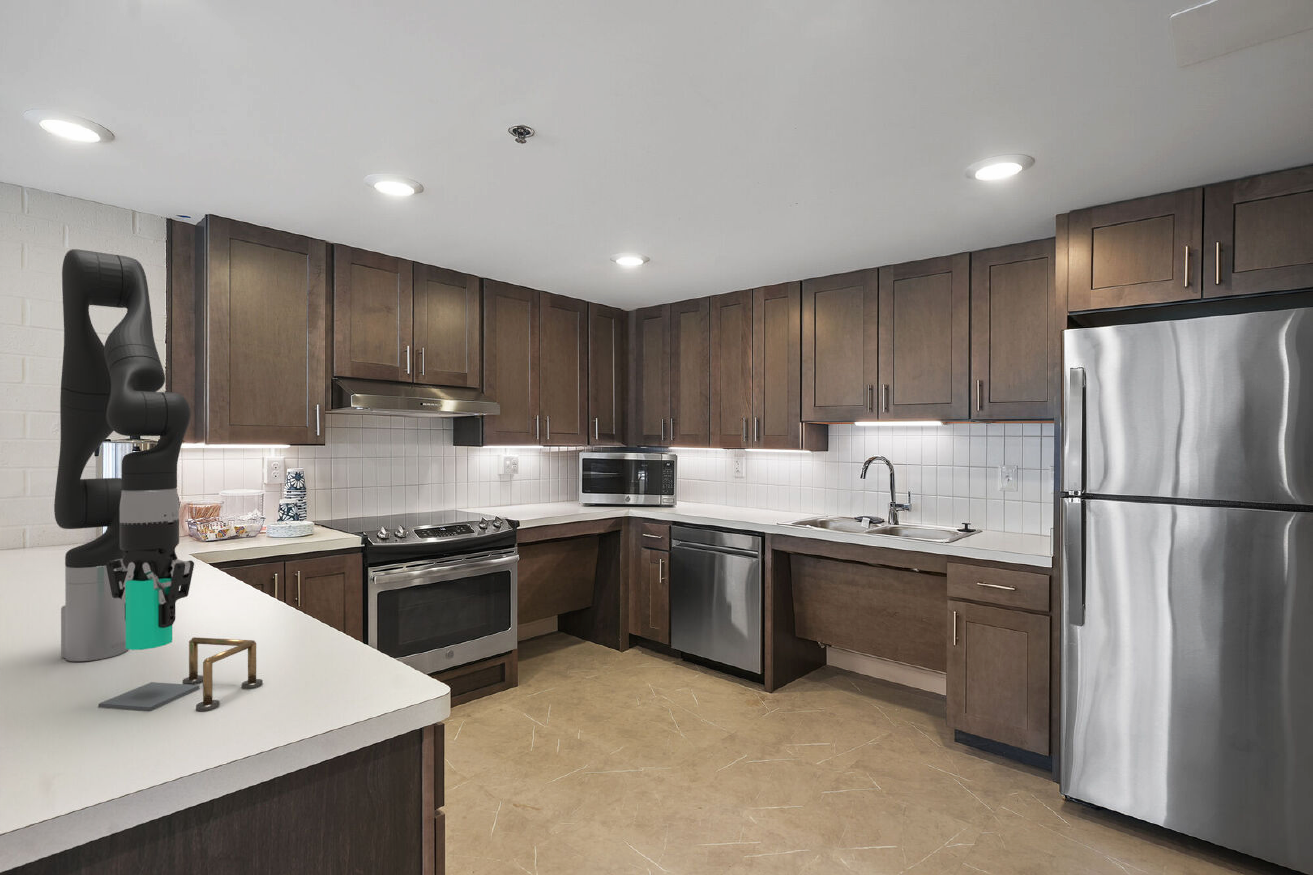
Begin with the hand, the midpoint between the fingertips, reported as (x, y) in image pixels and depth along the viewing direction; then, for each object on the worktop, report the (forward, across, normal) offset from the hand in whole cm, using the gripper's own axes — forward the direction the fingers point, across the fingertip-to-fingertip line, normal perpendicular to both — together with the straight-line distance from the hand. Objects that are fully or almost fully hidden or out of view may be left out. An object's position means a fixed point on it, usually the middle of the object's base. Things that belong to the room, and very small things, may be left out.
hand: (150, 625), depth 106 cm
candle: (+3, 0, 0) cm, 3 cm away
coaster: (+11, 0, 0) cm, 11 cm away
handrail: (+11, +7, +3) cm, 13 cm away
